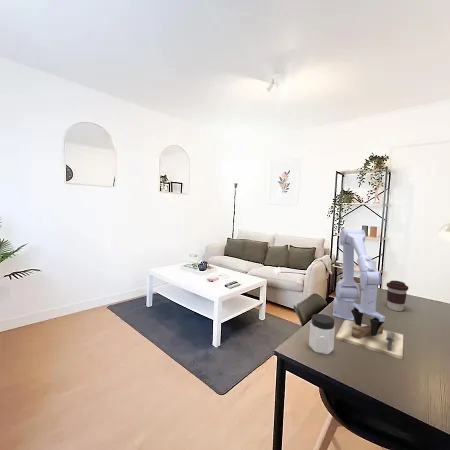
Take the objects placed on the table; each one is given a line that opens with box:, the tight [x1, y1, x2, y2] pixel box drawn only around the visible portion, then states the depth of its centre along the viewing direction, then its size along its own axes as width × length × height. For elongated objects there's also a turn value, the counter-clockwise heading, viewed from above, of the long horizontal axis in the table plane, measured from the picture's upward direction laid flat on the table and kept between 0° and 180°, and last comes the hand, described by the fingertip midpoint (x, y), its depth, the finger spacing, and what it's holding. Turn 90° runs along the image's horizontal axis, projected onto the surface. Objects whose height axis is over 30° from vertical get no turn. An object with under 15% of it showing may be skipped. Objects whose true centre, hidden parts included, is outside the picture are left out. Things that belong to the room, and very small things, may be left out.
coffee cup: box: [386, 280, 409, 312], centre depth 142 cm, size 10×10×15 cm
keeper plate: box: [335, 319, 404, 360], centre depth 109 cm, size 23×20×6 cm
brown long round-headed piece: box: [352, 324, 384, 338], centre depth 110 cm, size 15×4×3 cm, turn 110°
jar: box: [308, 313, 336, 355], centre depth 100 cm, size 9×8×12 cm
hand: (365, 330), depth 109 cm, fingers open, 7 cm apart
